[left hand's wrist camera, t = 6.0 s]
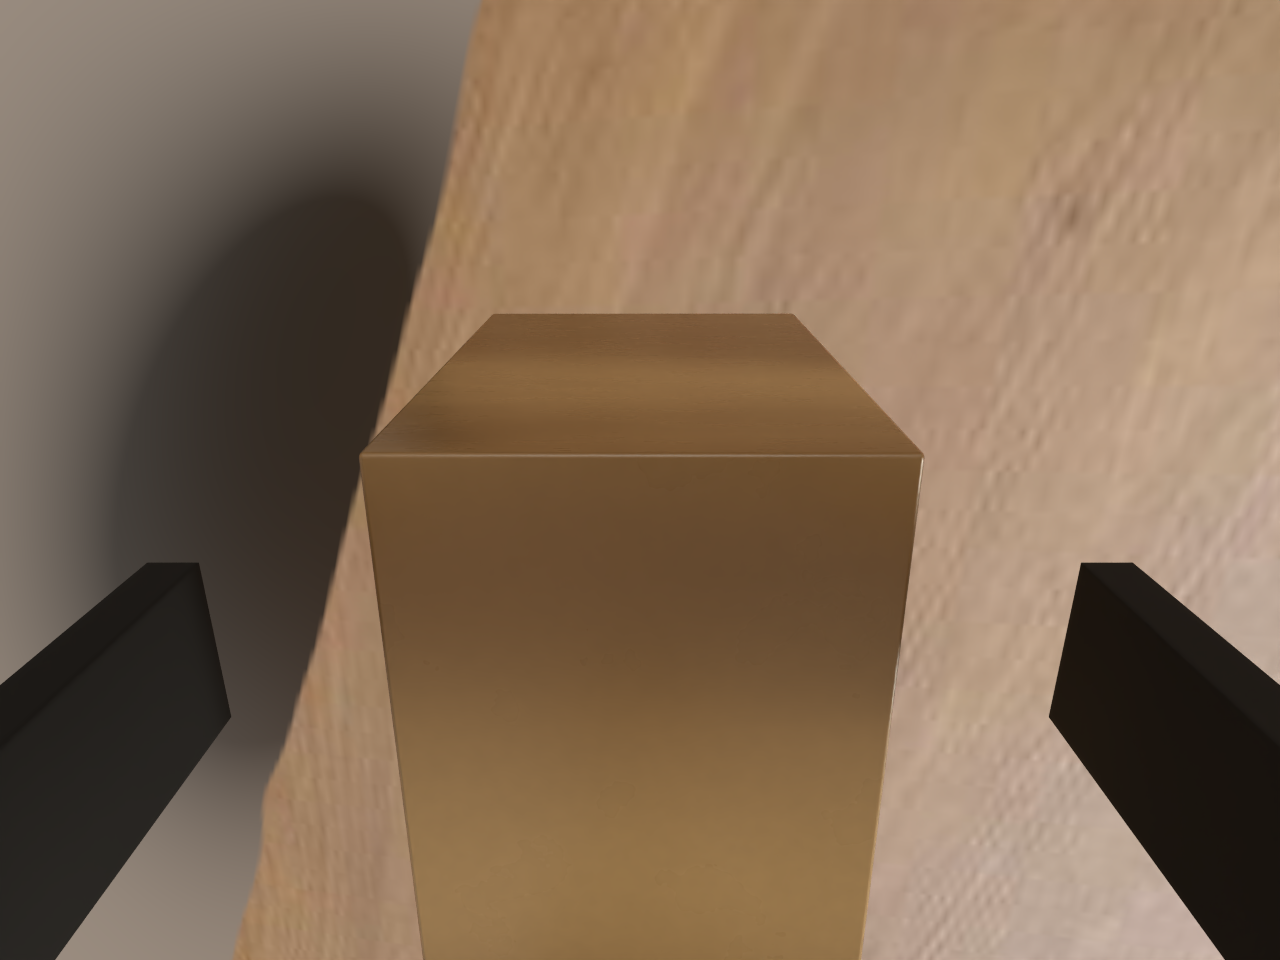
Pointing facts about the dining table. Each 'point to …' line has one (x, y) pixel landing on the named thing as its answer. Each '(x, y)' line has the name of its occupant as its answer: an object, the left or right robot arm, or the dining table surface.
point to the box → (641, 637)
